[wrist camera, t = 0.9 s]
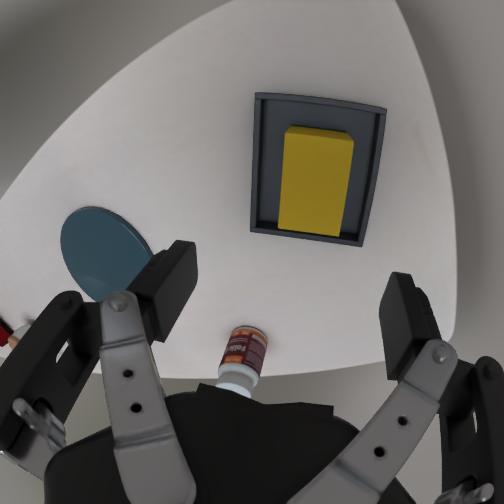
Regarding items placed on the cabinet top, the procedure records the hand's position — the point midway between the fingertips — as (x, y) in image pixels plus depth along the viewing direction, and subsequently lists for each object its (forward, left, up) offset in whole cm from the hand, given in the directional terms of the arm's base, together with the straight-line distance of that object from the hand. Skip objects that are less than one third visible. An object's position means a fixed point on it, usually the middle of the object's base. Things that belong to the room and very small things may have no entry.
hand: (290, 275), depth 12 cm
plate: (+14, -23, -15) cm, 31 cm away
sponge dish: (0, +1, -15) cm, 15 cm away
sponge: (0, +1, -15) cm, 15 cm away
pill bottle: (+22, -4, -15) cm, 27 cm away
